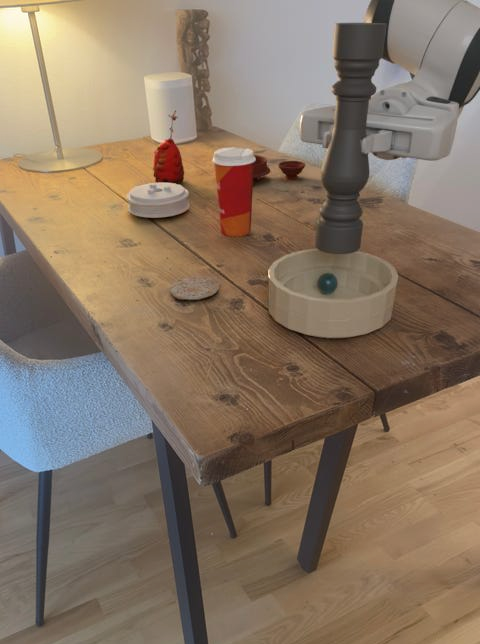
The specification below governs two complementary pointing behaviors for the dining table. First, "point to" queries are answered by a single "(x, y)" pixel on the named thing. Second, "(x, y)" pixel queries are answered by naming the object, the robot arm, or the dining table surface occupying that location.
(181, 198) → the lid
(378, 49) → the candle holder
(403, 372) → the dining table surface
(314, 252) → the bowl
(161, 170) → the red vase with sprig
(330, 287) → the bead
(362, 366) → the dining table surface
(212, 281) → the flatbread
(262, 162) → the pottery
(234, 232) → the paper cup
